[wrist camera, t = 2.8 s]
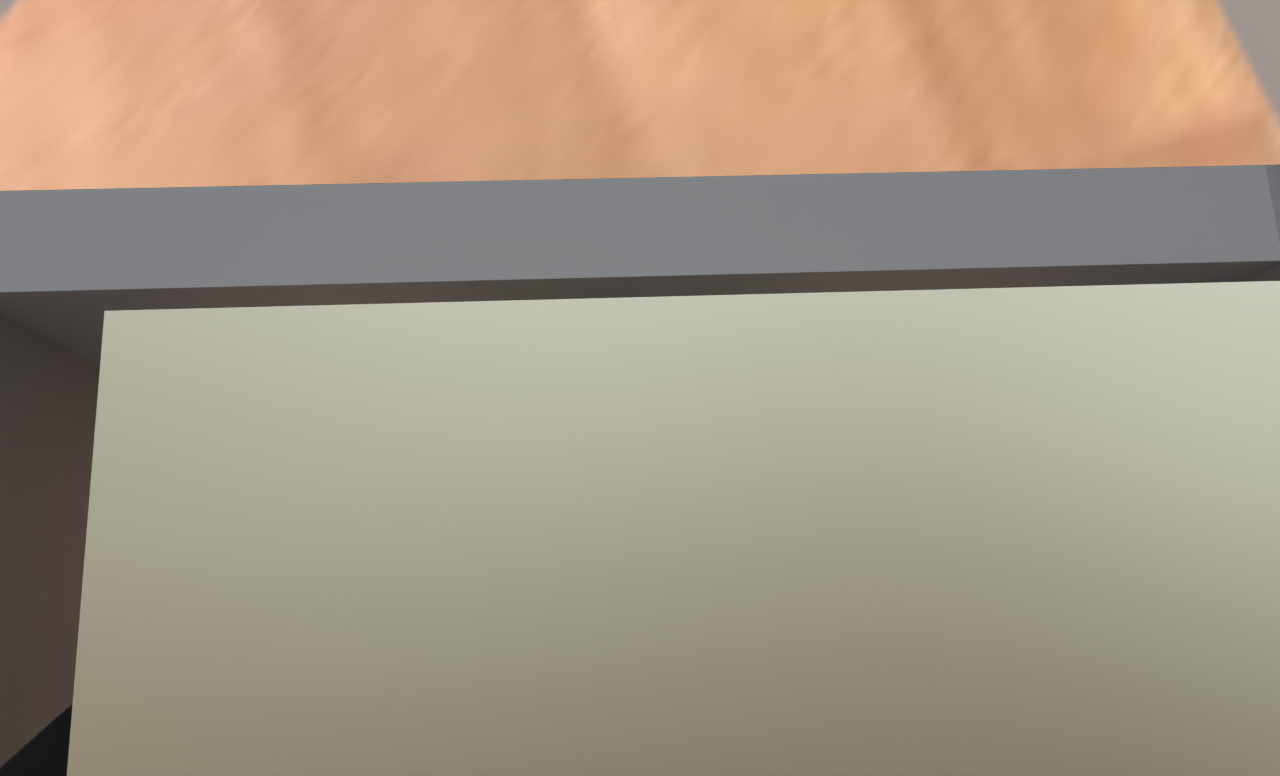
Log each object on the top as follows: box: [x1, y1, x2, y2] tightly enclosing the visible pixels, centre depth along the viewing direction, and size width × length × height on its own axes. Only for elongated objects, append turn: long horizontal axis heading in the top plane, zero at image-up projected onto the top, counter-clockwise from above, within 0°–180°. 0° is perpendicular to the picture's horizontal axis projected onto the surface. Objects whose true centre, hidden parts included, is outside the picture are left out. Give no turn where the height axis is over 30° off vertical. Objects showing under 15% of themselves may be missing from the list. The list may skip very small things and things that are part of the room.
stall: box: [0, 165, 1280, 767], centre depth 14 cm, size 7×17×6 cm, turn 92°
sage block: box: [67, 281, 1280, 776], centre depth 10 cm, size 5×5×13 cm
